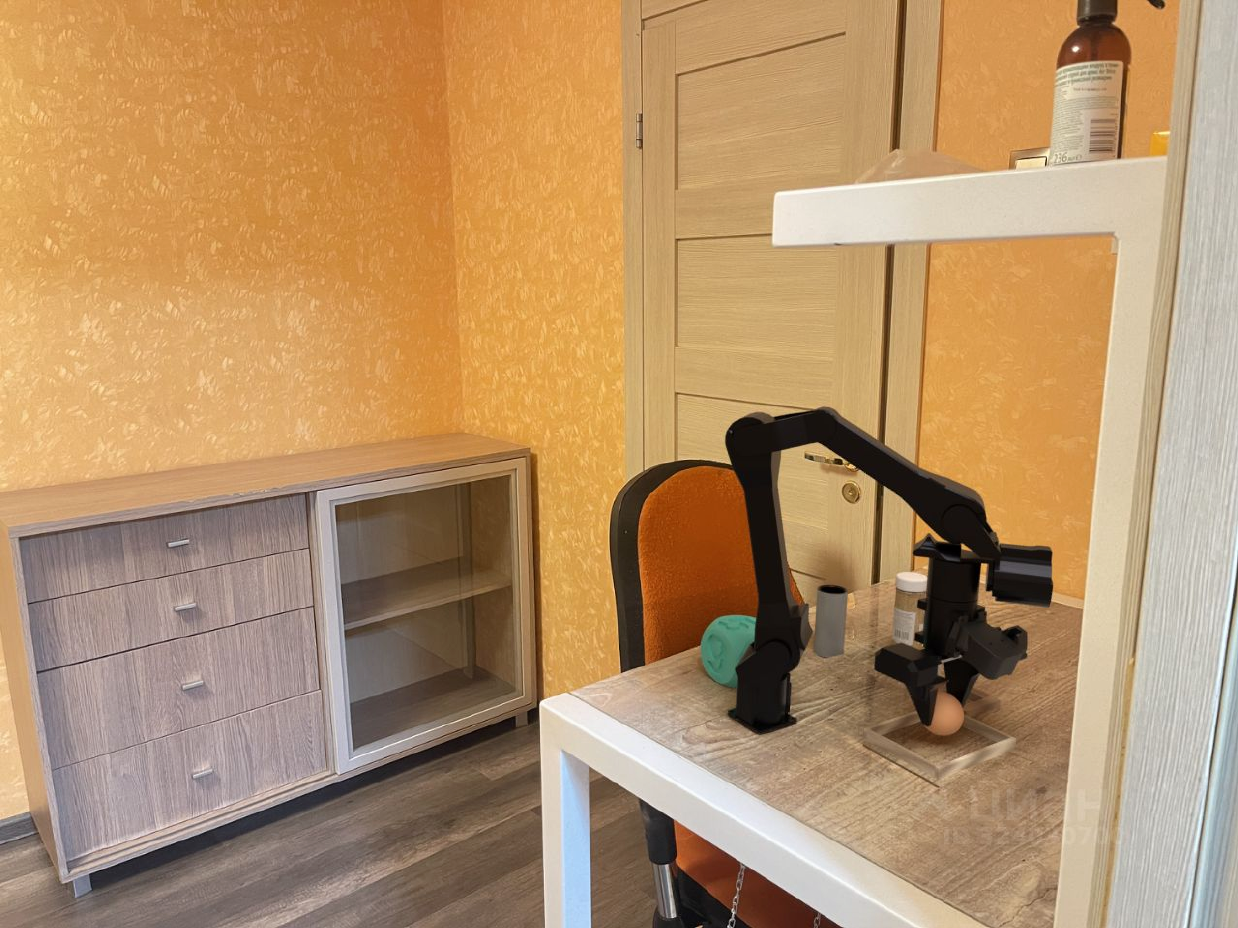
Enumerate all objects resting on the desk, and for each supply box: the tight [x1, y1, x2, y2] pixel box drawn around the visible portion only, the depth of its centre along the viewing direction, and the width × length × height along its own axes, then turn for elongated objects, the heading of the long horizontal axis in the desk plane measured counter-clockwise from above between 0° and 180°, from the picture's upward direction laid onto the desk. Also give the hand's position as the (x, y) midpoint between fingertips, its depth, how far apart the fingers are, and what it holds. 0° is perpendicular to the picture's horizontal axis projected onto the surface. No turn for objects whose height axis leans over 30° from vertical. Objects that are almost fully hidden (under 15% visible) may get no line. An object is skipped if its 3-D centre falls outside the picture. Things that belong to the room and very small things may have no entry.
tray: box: [862, 710, 1018, 789], centre depth 107 cm, size 14×11×2 cm
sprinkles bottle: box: [891, 571, 927, 650], centre depth 133 cm, size 5×5×13 cm
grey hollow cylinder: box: [813, 584, 849, 659], centre depth 136 cm, size 4×4×10 cm
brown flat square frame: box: [938, 683, 1002, 718], centre depth 118 cm, size 7×7×2 cm
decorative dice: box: [700, 614, 756, 689], centre depth 127 cm, size 8×8×8 cm
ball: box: [924, 692, 964, 736], centre depth 106 cm, size 5×5×5 cm
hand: (940, 719), depth 106 cm, fingers closed on ball, 5 cm apart
